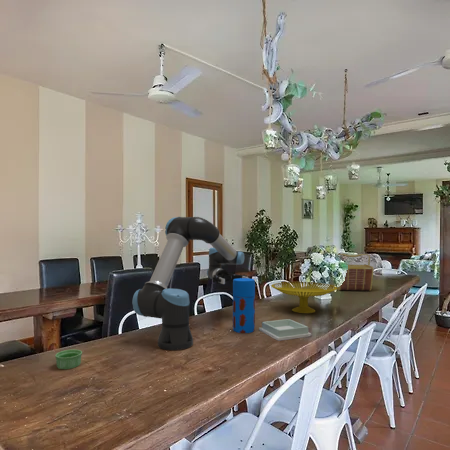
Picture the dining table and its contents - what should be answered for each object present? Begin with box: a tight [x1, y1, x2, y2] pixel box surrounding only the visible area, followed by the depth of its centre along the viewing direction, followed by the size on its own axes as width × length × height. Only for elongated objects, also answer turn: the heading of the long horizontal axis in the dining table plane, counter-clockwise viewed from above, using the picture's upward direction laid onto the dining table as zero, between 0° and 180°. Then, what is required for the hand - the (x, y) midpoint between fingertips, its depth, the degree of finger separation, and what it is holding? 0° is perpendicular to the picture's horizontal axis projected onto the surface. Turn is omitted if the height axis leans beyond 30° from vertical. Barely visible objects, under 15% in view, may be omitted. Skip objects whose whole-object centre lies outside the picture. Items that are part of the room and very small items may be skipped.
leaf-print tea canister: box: [232, 277, 256, 334], centre depth 176 cm, size 11×11×25 cm
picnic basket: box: [337, 253, 375, 292], centre depth 298 cm, size 29×26×30 cm
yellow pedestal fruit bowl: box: [270, 281, 338, 314], centre depth 219 cm, size 40×40×15 cm
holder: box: [258, 318, 312, 341], centre depth 171 cm, size 18×18×4 cm
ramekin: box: [54, 349, 83, 370], centre depth 130 cm, size 9×9×4 cm
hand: (236, 280), depth 185 cm, fingers open, 13 cm apart
